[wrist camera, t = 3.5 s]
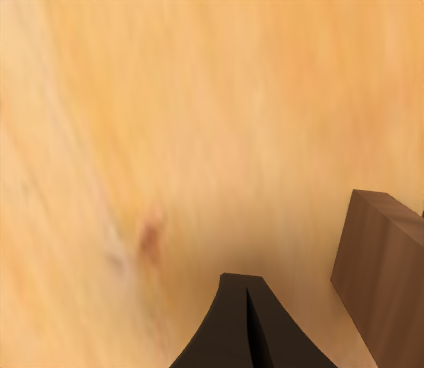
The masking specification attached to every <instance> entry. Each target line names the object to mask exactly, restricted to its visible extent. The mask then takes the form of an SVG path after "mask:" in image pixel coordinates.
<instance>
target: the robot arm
mask: <svg viewBox="0 0 424 368" xmlns="http://www.w3.org/2000/svg"><path fill="white" fill-rule="evenodd" d="M169 368H338V367H337V366H336V365H335V364H334V363H333V362H332V361H330V360H329V359H328V358H327V357H326V356H325V355H324V354H323V353H322V352H321V351H320V350H319V349H318V348H317V347H316V346H315V345H314V344H313V342H312V341H311V340H310V339H309V338H308V337H307V336H306V335H305V333H304V332H303V331H302V330H301V329H300V328H299V327H298V325H297V324H296V323H295V322H294V320H293V319H292V318H291V316H290V315H289V314H288V313H287V311H286V310H285V309H284V307H283V306H282V305H281V303H280V302H279V301H278V299H277V298H276V296H275V295H274V294H273V292H272V291H271V289H270V288H269V286H268V285H267V284H266V282H265V281H264V279H263V278H262V277H259V276H250V275H240V274H231V273H223V274H222V275H220V283H219V288H218V291H217V293H216V296H215V298H214V300H213V303H212V305H211V307H210V309H209V311H208V313H207V315H206V316H205V318H204V320H203V322H202V323H201V325H200V327H199V329H198V330H197V332H196V333H195V335H194V336H193V338H192V339H191V341H190V342H189V343H188V345H187V346H186V347H185V349H184V350H183V351H182V353H181V354H180V355H179V356H178V358H177V359H176V360H175V361H174V362H173V364H172V365H171V366H170V367H169Z"/></svg>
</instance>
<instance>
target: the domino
mask: <svg viewBox="0 0 424 368" xmlns="http://www.w3.org/2000/svg"><path fill="white" fill-rule="evenodd" d="M331 282H332V284H333V286H334V287H335V289H336V291H337V293H338V295H339V296H340V298H341V300H342V302H343V304H344V306H345V307H346V309H347V311H348V313H349V315H350V317H351V318H352V320H353V322H354V324H355V326H356V328H357V329H358V331H359V333H360V335H361V337H362V339H363V340H364V342H365V344H366V346H367V348H368V350H369V351H370V353H371V355H372V357H373V359H374V360H375V362H376V364H377V366H378V368H424V218H422V217H421V216H419V215H418V214H416V213H415V212H414V211H412V210H411V209H409V208H408V207H406V206H405V205H403V204H402V203H400V202H399V201H397V200H396V199H395V198H393V197H392V196H390V195H389V194H387V193H382V192H373V191H364V190H355V189H353V192H352V196H351V200H350V204H349V208H348V212H347V216H346V220H345V224H344V228H343V232H342V236H341V240H340V244H339V248H338V252H337V256H336V260H335V264H334V268H333V272H332V276H331Z"/></svg>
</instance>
